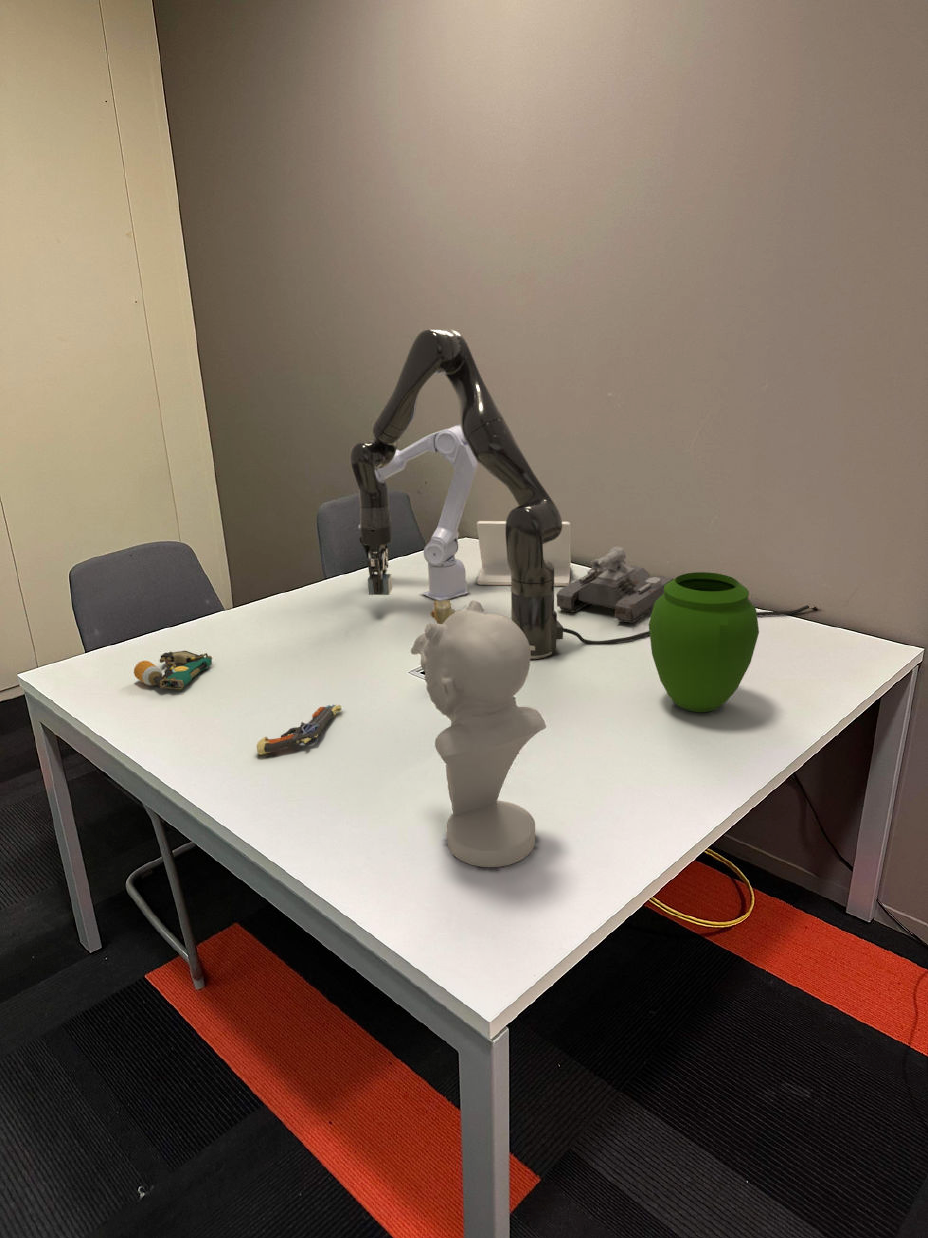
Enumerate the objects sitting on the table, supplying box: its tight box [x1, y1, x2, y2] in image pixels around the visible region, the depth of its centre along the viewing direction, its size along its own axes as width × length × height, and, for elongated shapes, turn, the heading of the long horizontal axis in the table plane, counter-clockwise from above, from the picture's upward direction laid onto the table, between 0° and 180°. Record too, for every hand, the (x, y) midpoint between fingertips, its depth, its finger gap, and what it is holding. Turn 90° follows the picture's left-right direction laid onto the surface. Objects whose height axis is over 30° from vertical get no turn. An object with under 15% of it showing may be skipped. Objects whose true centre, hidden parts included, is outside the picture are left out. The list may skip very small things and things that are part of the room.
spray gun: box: [133, 650, 213, 690], centre depth 180 cm, size 4×17×15 cm
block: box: [367, 573, 393, 596], centre depth 212 cm, size 4×5×4 cm
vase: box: [648, 571, 760, 713], centre depth 157 cm, size 20×20×24 cm
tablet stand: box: [476, 520, 572, 587], centre depth 236 cm, size 18×25×17 cm
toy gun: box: [256, 704, 342, 756], centre depth 155 cm, size 3×19×10 cm
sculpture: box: [430, 599, 456, 624], centre depth 177 cm, size 6×7×15 cm
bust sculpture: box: [410, 599, 547, 868], centre depth 121 cm, size 16×24×35 cm
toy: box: [556, 546, 675, 624], centre depth 212 cm, size 25×20×15 cm
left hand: (375, 558), depth 229 cm, fingers open, 7 cm apart
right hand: (380, 590), depth 212 cm, fingers closed on block, 4 cm apart
